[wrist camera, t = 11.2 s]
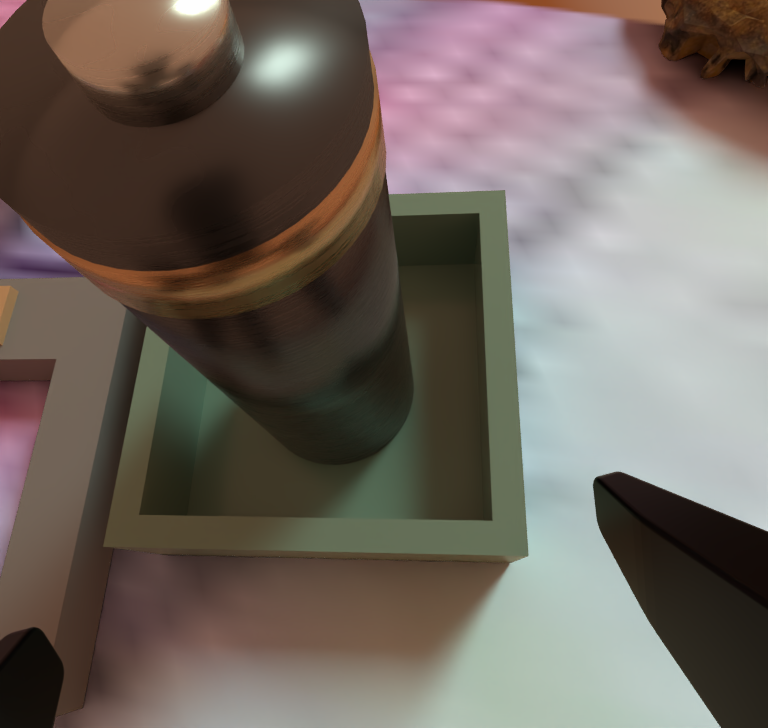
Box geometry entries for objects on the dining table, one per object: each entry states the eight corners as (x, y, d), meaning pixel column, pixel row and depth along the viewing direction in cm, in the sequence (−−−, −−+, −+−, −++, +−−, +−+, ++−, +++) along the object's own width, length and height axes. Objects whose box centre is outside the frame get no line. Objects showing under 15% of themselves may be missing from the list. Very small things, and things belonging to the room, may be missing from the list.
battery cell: (396, 482, 17) (286, 228, 5) (240, 448, 18) (-188, 159, 6) (429, 331, 19) (408, -139, 7) (285, 306, 20) (27, -152, 7)
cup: (510, 562, 17) (528, 556, 13) (164, 554, 18) (102, 546, 14) (494, 253, 21) (504, 190, 17) (211, 260, 22) (171, 202, 18)
